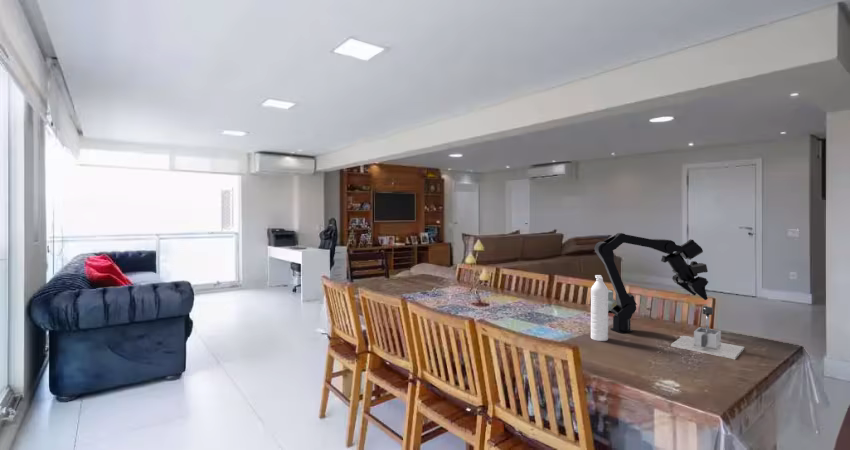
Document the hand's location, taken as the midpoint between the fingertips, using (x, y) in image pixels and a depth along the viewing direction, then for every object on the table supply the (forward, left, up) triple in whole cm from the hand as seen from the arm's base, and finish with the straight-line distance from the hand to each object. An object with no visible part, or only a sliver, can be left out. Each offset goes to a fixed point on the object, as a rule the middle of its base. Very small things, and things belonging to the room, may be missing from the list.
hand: (700, 297), depth 178 cm
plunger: (-15, -14, -10) cm, 23 cm away
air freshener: (-6, +45, -15) cm, 48 cm away
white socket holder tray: (-15, -14, -15) cm, 26 cm away
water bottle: (-43, +11, -15) cm, 47 cm away
